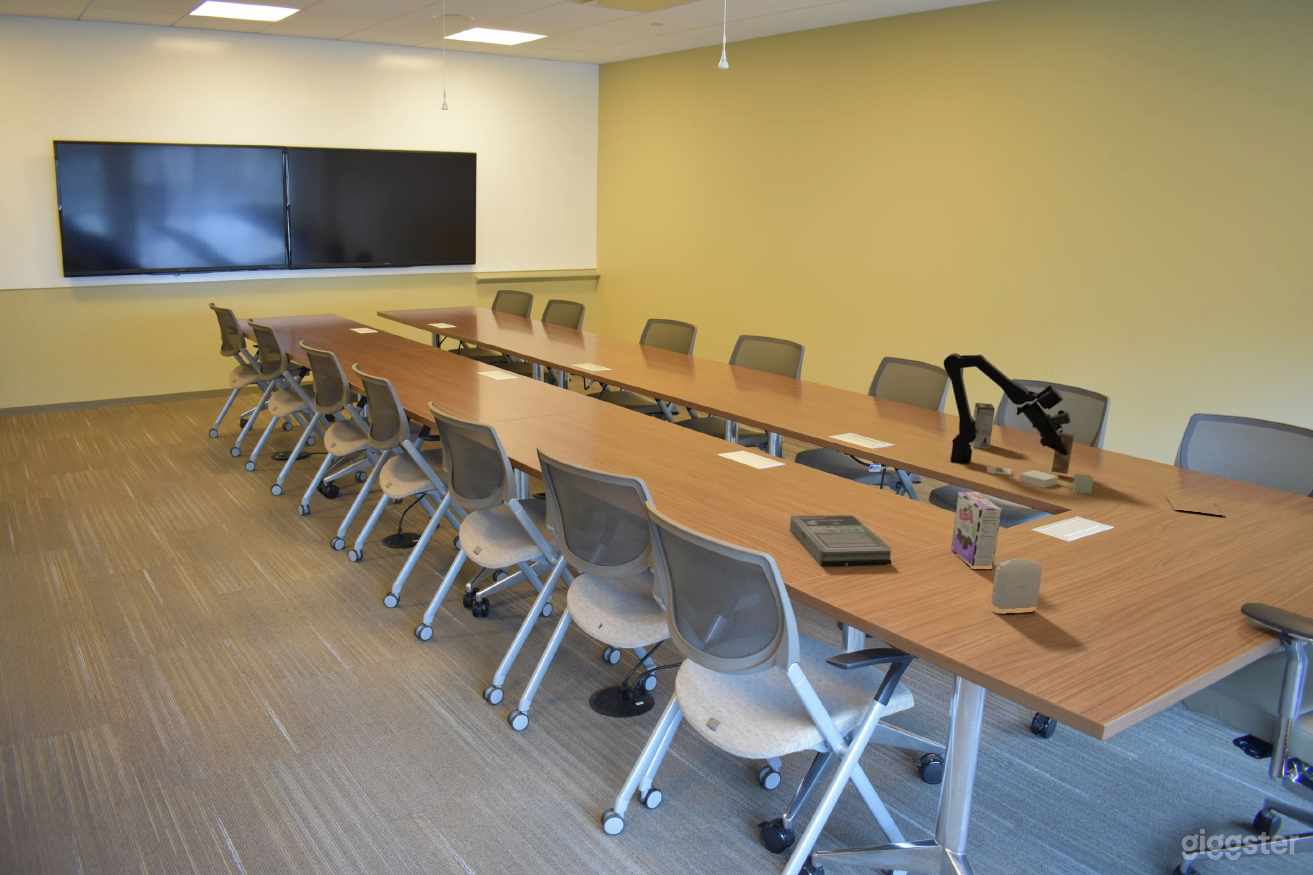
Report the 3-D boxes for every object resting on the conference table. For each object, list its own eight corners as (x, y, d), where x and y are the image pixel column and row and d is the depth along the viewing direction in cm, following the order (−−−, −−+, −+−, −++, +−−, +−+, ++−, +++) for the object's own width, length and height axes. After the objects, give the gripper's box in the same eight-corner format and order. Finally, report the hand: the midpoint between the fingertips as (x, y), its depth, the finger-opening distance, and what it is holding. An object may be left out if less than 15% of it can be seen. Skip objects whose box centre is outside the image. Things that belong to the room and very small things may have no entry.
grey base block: (1018, 482, 311) (1019, 473, 311) (1032, 478, 317) (1033, 470, 316) (1043, 489, 305) (1044, 480, 304) (1057, 484, 310) (1058, 476, 310)
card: (987, 472, 320) (987, 470, 320) (986, 468, 326) (986, 465, 326) (1011, 475, 318) (1012, 473, 318) (1010, 470, 324) (1010, 468, 323)
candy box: (949, 550, 244) (957, 490, 240) (971, 550, 245) (979, 491, 241) (971, 570, 231) (979, 507, 227) (994, 570, 231) (1002, 508, 227)
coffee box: (969, 442, 363) (974, 402, 359) (986, 443, 362) (992, 403, 358) (972, 447, 354) (978, 407, 350) (990, 449, 353) (995, 408, 349)
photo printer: (996, 616, 205) (1004, 564, 202) (986, 607, 209) (994, 556, 206) (1038, 614, 206) (1046, 562, 203) (1028, 606, 210) (1035, 555, 207)
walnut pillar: (1051, 471, 318) (1057, 435, 315) (1052, 468, 322) (1058, 432, 319) (1067, 474, 316) (1073, 437, 313) (1068, 470, 320) (1074, 434, 317)
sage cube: (1074, 492, 301) (1076, 477, 300) (1072, 488, 306) (1074, 473, 305) (1090, 494, 300) (1093, 479, 299) (1088, 489, 305) (1090, 475, 303)
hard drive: (821, 568, 229) (823, 551, 228) (788, 531, 255) (789, 515, 254) (890, 566, 232) (892, 550, 231) (851, 529, 258) (852, 514, 257)
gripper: (1056, 408, 307) (1086, 445, 305) (1060, 399, 323) (1089, 434, 321) (1027, 427, 312) (1057, 464, 310) (1032, 417, 328) (1061, 452, 326)
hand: (1067, 453), depth 317 cm, fingers closed on walnut pillar, 5 cm apart
